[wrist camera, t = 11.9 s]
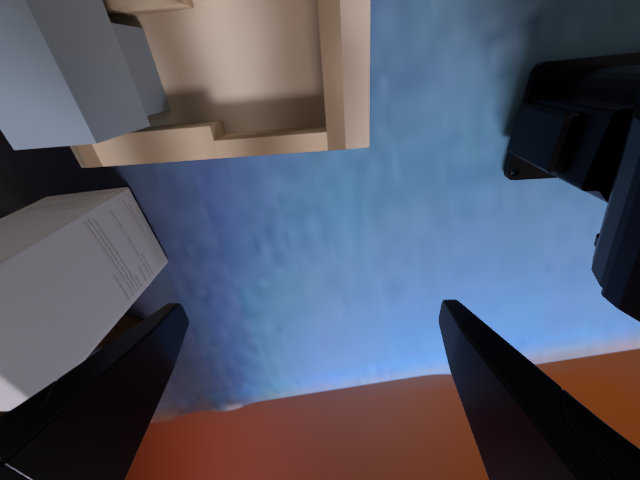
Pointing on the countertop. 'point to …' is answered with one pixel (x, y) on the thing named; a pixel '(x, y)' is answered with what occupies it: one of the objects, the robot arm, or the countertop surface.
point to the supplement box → (67, 283)
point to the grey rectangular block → (72, 75)
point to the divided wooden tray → (247, 79)
